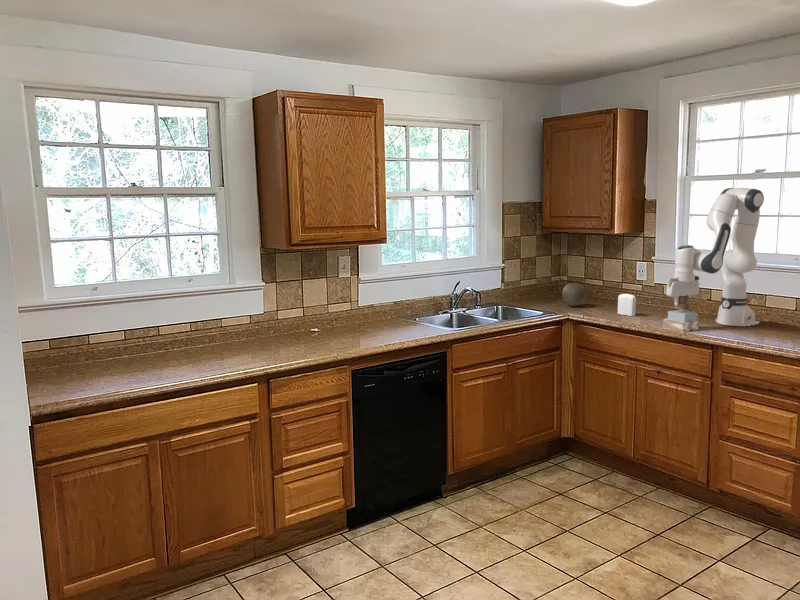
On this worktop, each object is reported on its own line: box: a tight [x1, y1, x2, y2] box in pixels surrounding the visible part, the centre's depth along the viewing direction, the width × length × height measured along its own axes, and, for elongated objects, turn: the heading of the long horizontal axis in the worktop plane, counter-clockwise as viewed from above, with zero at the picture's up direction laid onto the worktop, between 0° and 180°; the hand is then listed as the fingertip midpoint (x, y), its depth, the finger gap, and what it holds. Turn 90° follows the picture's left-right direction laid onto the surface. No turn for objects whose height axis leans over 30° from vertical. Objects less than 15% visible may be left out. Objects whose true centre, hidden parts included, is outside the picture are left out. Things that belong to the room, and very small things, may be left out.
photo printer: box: [617, 293, 637, 317], centre depth 368 cm, size 10×4×12 cm, turn 39°
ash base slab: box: [662, 317, 700, 332], centre depth 329 cm, size 12×12×5 cm
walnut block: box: [673, 296, 690, 310], centre depth 328 cm, size 5×5×6 cm
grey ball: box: [561, 282, 587, 308], centre depth 398 cm, size 14×14×15 cm
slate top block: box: [667, 309, 699, 322], centre depth 329 cm, size 10×10×4 cm
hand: (681, 304), depth 329 cm, fingers closed on walnut block, 5 cm apart
